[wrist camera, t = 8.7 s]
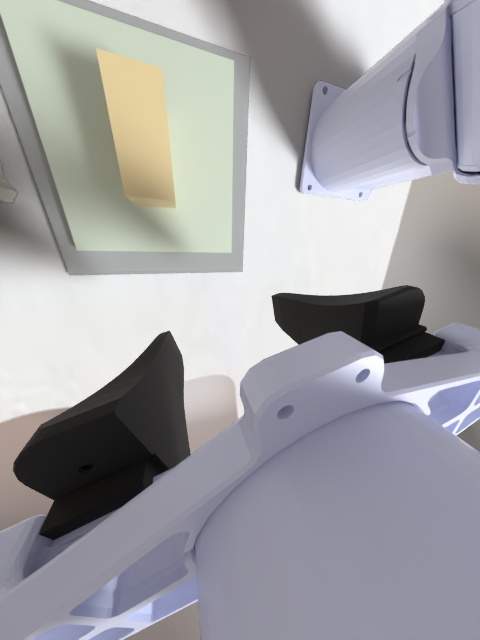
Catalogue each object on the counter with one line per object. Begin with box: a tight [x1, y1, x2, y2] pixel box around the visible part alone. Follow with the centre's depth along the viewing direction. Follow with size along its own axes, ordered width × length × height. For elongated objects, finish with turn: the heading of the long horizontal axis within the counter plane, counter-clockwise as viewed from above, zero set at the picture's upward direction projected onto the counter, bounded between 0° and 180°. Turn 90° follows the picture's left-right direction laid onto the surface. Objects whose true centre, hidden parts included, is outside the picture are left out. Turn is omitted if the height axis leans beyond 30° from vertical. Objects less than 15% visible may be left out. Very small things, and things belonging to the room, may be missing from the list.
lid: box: [0, 0, 234, 253], centre depth 12 cm, size 13×13×5 cm
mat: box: [0, 0, 250, 275], centre depth 15 cm, size 16×16×1 cm
